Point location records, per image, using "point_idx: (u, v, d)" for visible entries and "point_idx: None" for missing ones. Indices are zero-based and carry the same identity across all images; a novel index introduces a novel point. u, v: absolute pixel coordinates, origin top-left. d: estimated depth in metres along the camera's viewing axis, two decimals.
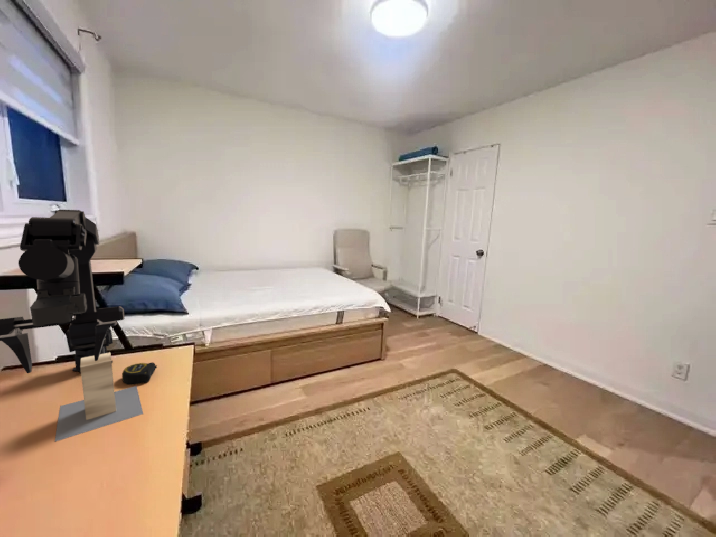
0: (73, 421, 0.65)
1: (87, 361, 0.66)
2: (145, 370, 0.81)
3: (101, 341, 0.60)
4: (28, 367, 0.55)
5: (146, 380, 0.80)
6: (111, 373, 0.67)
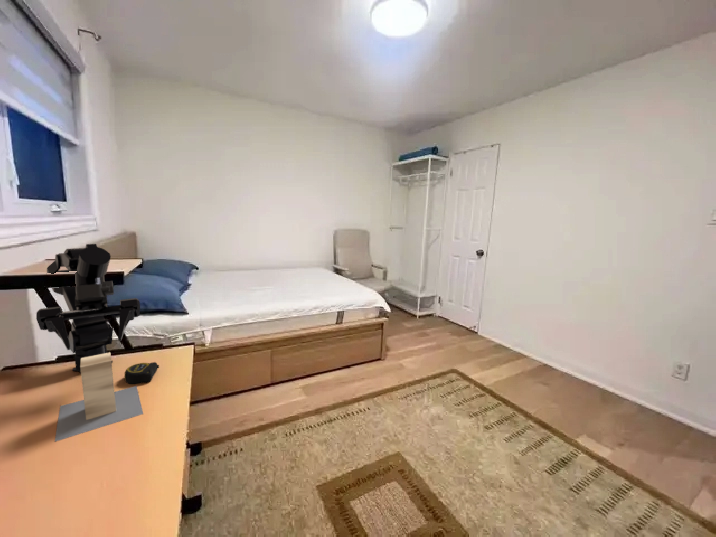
0: (73, 421, 0.65)
1: (87, 361, 0.66)
2: (147, 370, 0.81)
3: (123, 323, 0.76)
4: (68, 343, 0.69)
5: (148, 380, 0.80)
6: (111, 373, 0.67)
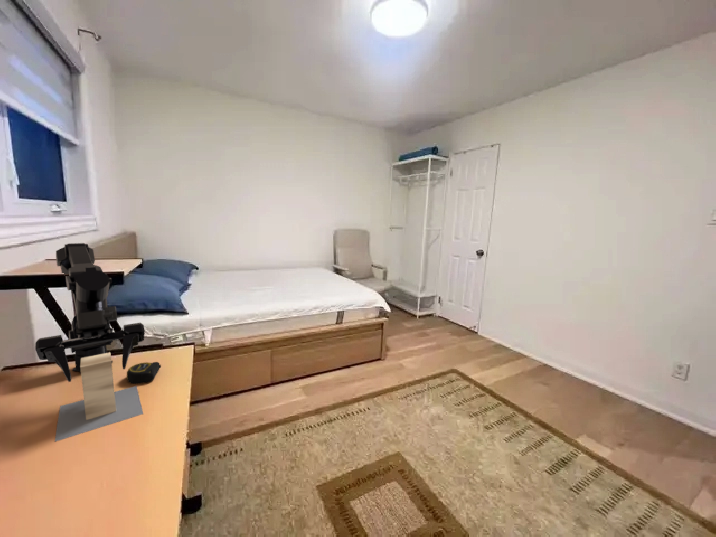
0: (73, 421, 0.65)
1: (87, 361, 0.66)
2: (149, 369, 0.81)
3: (127, 350, 0.72)
4: (69, 375, 0.65)
5: (150, 379, 0.80)
6: (111, 373, 0.67)
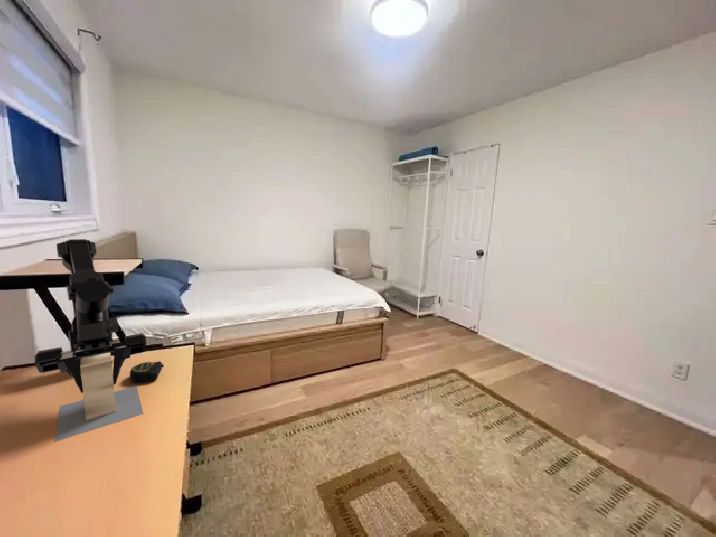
0: (73, 421, 0.65)
1: (87, 361, 0.66)
2: (152, 369, 0.81)
3: (118, 365, 0.70)
4: None
5: (153, 379, 0.80)
6: (111, 373, 0.67)
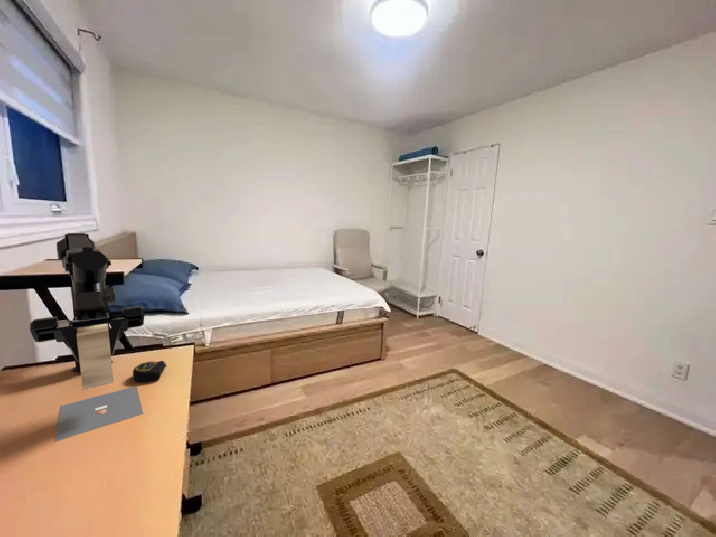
0: (73, 421, 0.65)
1: (83, 330, 0.65)
2: (155, 368, 0.82)
3: (116, 336, 0.69)
4: (78, 355, 0.64)
5: (156, 378, 0.81)
6: (108, 343, 0.66)
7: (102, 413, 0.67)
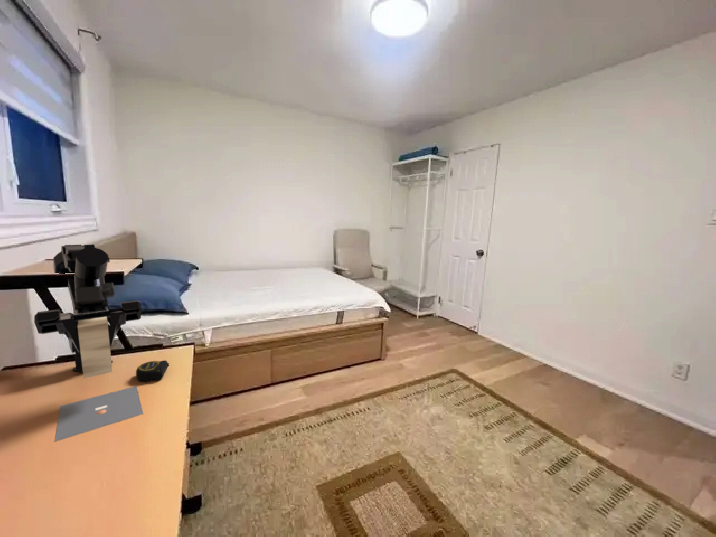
0: (73, 421, 0.65)
1: (84, 322, 0.69)
2: (158, 368, 0.82)
3: (114, 328, 0.73)
4: (79, 346, 0.68)
5: (159, 378, 0.81)
6: (107, 335, 0.70)
7: (102, 413, 0.67)
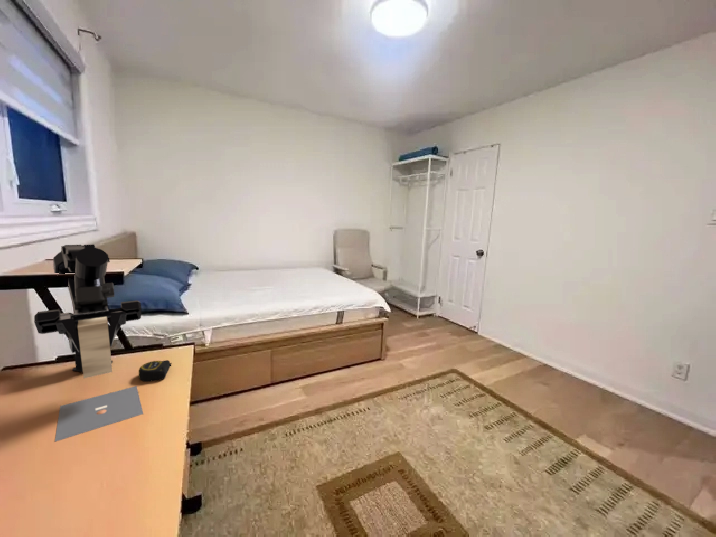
0: (73, 421, 0.65)
1: (84, 322, 0.69)
2: (160, 367, 0.82)
3: (114, 328, 0.73)
4: (79, 346, 0.68)
5: (162, 377, 0.81)
6: (107, 335, 0.70)
7: (102, 413, 0.67)
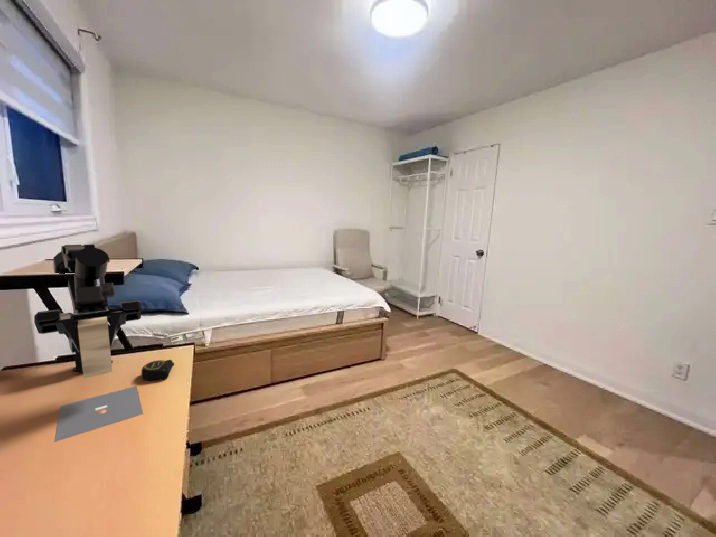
0: (73, 421, 0.65)
1: (84, 322, 0.69)
2: (163, 367, 0.83)
3: (114, 328, 0.73)
4: (79, 346, 0.68)
5: (165, 377, 0.82)
6: (107, 335, 0.70)
7: (102, 413, 0.67)
